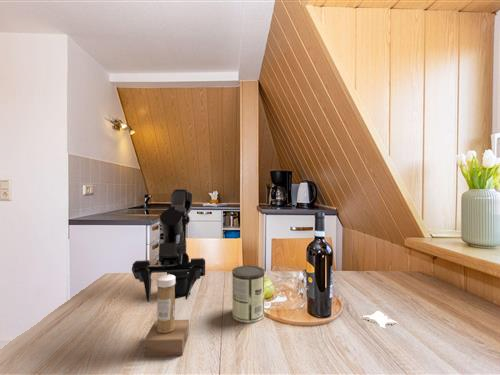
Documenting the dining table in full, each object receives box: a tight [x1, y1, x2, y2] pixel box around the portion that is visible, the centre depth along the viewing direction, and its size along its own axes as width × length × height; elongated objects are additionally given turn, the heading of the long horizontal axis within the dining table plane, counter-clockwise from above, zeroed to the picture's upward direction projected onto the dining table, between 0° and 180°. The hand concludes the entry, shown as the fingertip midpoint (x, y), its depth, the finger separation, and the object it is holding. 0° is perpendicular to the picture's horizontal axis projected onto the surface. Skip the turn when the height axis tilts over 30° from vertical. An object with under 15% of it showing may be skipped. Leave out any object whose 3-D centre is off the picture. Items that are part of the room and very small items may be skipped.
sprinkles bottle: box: [156, 274, 176, 333], centre depth 67 cm, size 5×5×14 cm
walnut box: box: [143, 319, 190, 358], centre depth 67 cm, size 9×9×4 cm
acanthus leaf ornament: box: [361, 310, 399, 329], centre depth 79 cm, size 8×7×2 cm
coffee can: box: [231, 265, 266, 324], centre depth 83 cm, size 10×10×14 cm
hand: (167, 300), depth 65 cm, fingers open, 9 cm apart
